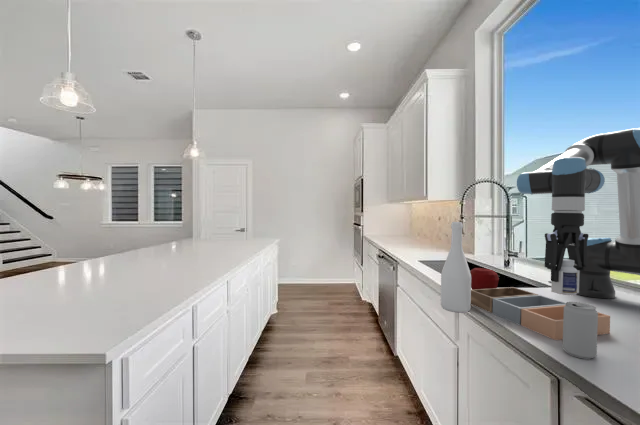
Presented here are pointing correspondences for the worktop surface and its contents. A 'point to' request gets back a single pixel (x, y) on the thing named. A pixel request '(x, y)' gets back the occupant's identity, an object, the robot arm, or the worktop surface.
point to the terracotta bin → (555, 321)
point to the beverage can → (580, 330)
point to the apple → (483, 278)
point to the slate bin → (520, 305)
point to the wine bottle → (456, 276)
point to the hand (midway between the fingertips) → (565, 292)
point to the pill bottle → (569, 277)
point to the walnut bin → (494, 296)
